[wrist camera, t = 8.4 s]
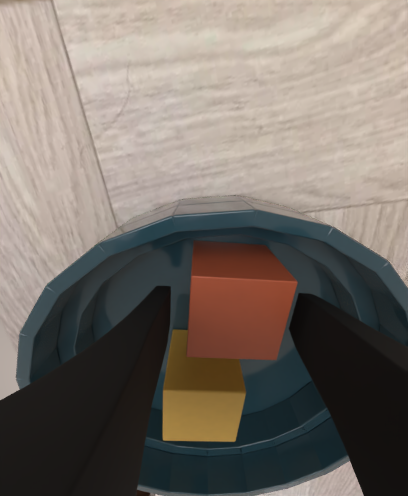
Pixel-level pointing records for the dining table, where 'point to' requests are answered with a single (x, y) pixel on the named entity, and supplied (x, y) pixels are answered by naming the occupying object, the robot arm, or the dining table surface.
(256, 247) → the terracotta block
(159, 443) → the bowl
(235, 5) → the dining table surface
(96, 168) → the dining table surface
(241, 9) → the dining table surface
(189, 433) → the mustard block
